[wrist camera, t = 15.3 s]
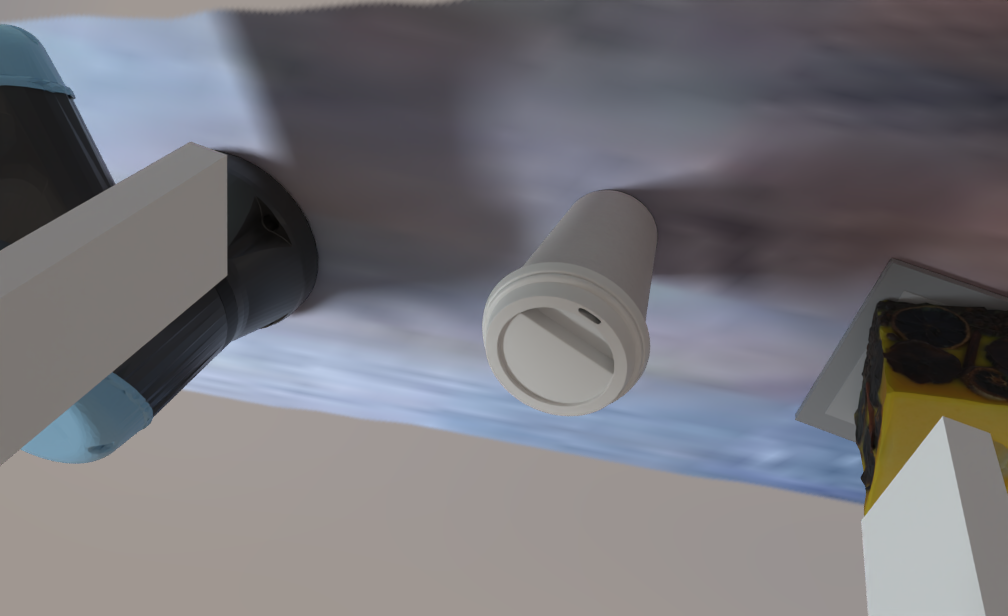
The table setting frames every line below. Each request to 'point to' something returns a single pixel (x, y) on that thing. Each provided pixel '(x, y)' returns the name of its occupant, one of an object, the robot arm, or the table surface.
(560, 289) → the coffee cup
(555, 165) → the table surface
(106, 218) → the robot arm
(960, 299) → the coaster
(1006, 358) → the candle
